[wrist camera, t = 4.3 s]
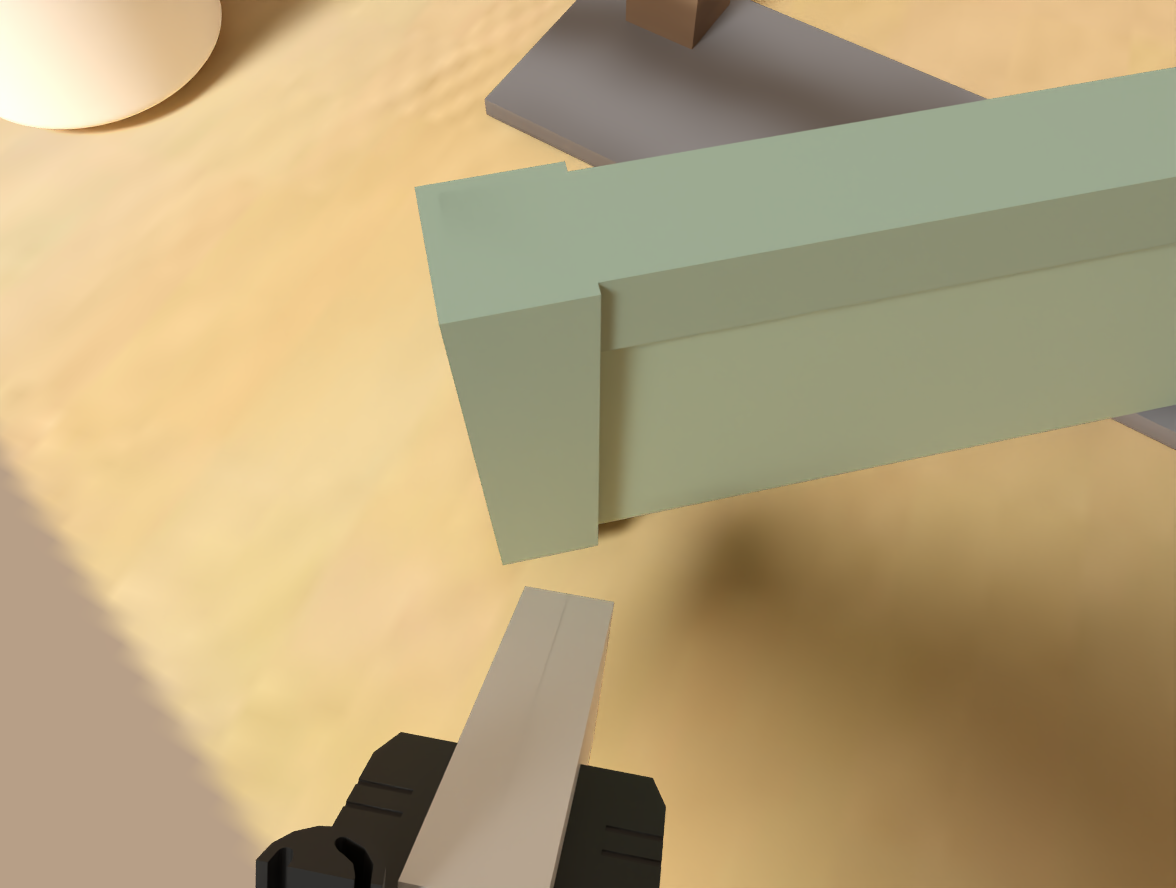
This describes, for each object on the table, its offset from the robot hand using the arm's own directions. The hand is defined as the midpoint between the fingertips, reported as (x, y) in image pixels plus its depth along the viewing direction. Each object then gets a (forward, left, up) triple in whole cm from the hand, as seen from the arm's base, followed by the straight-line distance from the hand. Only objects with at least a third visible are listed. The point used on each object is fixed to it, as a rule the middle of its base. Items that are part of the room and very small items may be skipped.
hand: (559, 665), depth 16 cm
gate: (+2, -11, -4) cm, 12 cm away
